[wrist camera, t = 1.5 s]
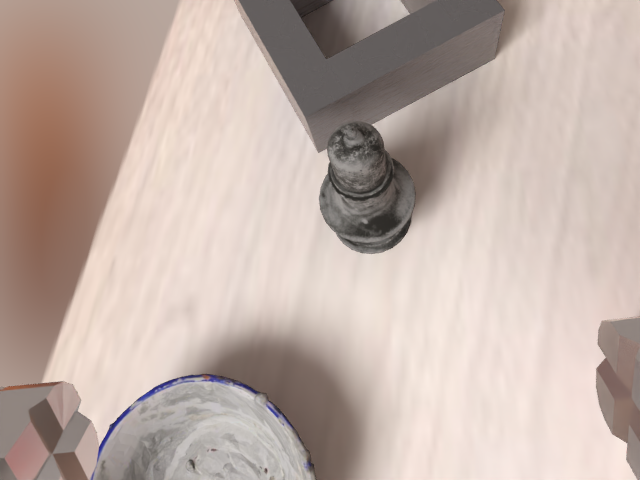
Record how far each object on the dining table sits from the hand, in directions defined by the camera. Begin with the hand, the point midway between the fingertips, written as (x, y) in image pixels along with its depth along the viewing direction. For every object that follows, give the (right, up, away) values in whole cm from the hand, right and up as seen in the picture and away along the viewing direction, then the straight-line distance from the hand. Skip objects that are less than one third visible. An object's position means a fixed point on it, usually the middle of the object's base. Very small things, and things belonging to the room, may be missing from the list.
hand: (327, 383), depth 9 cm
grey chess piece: (+3, +4, +29) cm, 29 cm away
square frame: (+3, +17, +33) cm, 38 cm away
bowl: (-6, -13, +25) cm, 29 cm away
